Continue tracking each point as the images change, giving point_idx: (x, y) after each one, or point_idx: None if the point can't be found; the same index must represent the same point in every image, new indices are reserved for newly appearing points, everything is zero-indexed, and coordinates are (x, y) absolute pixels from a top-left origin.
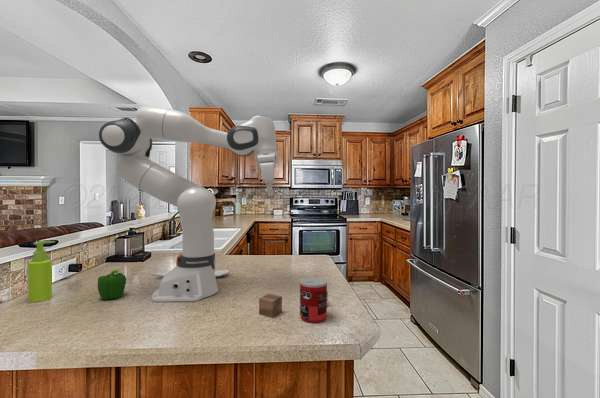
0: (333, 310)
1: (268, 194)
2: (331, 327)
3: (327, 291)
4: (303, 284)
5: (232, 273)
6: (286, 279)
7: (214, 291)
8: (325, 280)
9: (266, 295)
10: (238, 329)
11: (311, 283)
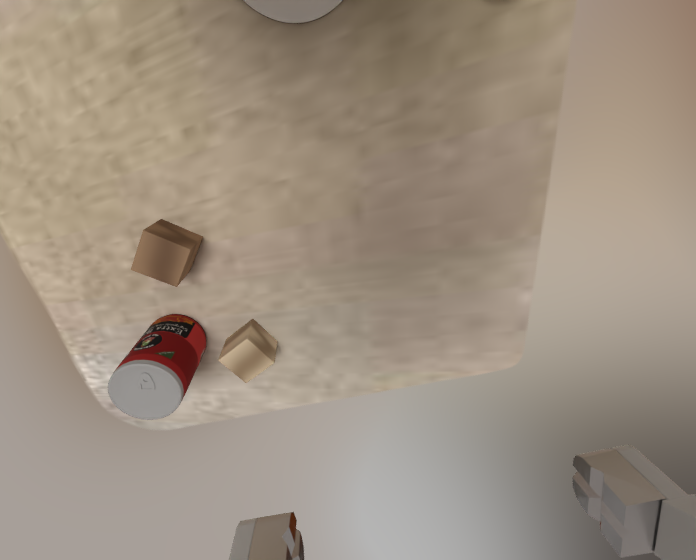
0: (228, 371)
1: (237, 539)
2: None
3: (245, 381)
4: (114, 372)
5: (535, 4)
6: (443, 244)
7: (276, 15)
8: (160, 417)
9: (171, 245)
10: (62, 190)
11: (134, 387)
